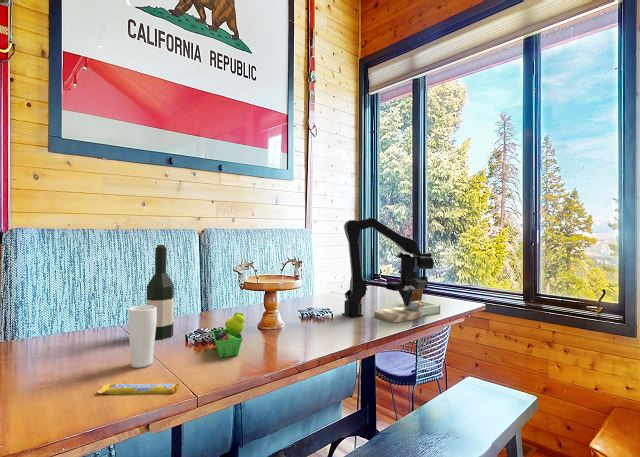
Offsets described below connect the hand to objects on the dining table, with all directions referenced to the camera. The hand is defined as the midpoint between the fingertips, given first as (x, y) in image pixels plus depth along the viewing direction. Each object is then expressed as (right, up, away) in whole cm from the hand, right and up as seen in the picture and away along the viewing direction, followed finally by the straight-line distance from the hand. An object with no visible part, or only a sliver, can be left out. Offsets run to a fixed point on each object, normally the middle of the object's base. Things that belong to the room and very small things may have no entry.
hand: (406, 306), depth 156 cm
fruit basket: (-63, -4, -47) cm, 79 cm away
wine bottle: (-89, -3, -34) cm, 95 cm away
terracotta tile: (+5, -2, +3) cm, 6 cm away
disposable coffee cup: (+9, -4, +23) cm, 25 cm away
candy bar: (-76, -4, -73) cm, 106 cm away
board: (-4, -4, -3) cm, 7 cm away
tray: (+7, -4, +7) cm, 11 cm away
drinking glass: (-83, -3, -58) cm, 101 cm away
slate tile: (+2, -2, +1) cm, 3 cm away
